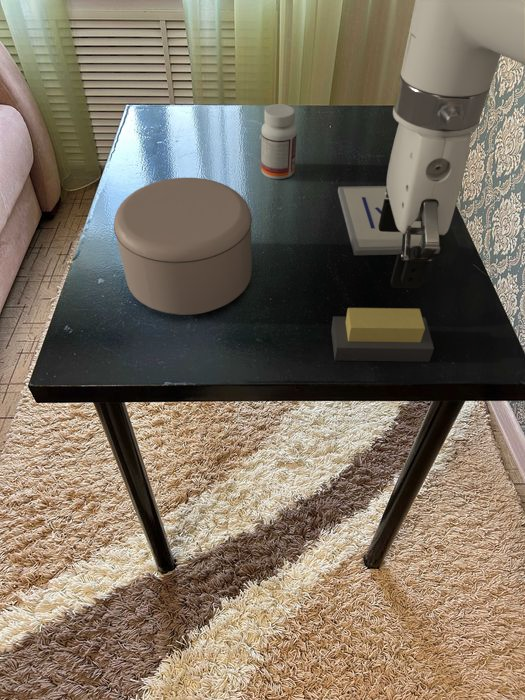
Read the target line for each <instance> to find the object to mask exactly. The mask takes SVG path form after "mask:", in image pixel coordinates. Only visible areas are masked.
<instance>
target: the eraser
mask: <svg viewBox="0 0 525 700" xmlns="http://www.w3.org/2000/svg"><path fill="white" fill-rule="evenodd" d="M330 332H331V341H332V351H333V359H334V362H336V361H337V362H410V363H411V362H412V363H413V362H415V363H428V362H430V361H431V358H432V356H433V352H434V350H435V347H434V342H433V339H432V337H431V336H432V335H431V332H430V329H429V326H428V322H427V319H426V317H423V316H422V312H421V308H401V307H400V308H396V307H395V308H392V307H390V308H389V307H387V308H386V307H381V308H380V307H348V308H347V310H346V316H332V322H331V330H330Z"/></svg>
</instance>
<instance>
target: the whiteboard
mask: <svg viewBox="0 0 525 700" xmlns="http://www.w3.org/2000/svg"><path fill="white" fill-rule="evenodd" d="M386 189H387V185H367V186H365V185H364V186H361V185H360V186H359V185H358V186H338V188H337V194H338V198H339V201H340V202H339V203H340V206H341V210H342V214H343V219H344V221H345V225H346V229H347V234H348V237H349V241H350V245H351V248H352V249H351V250H352V254H353V256H391V255H394V256H397V255H398V254H402V237H403V233H401V232H382V231H379V227H378V226H379V221H380V217H381V212H382V207H383V203H384V199H389V198H386ZM410 227H415V228H421V221H415V222H414V223H413V224H412V225H411V226H410ZM420 241H421V235H411V244H410V248H412V247H414V246H419V242H420ZM440 252H441V246H440V245H439V247H438V249H437V250H436V251H435V255H437V254H438V255H439V254H440Z"/></svg>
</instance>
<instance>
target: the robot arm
mask: <svg viewBox="0 0 525 700" xmlns="http://www.w3.org/2000/svg"><path fill="white" fill-rule="evenodd" d="M501 56H503V57H505V58H508V59H510V60H512V61H514V62H517V63H518V64H521V65H524V66H525V0H415V1H414V6H413V9H412V15H411V20H410V25H409V30H408V36H407V39H406V46H405V50H404V55H403V60H402V65H401V70H400V75H399V79H398V85H397V89H396V94H395V99H394V104H393V107H392V117H393V119H394V120H395V121H396V122H397V123H398V125H397V128H396V132H395V137H394V140H393V144H392V149H391V153H390V157H389V161H388V162H389V163H388V167H387V174H386V186H387V189H386V198H389V199H384V203H383V207H382V212H381V217H380V221H379V226H378V227H379V231H382V232H401V233H403V237H402V254H398V255H396V258H395V263H394V266H393V271H392V274H391V278H390V287H391V288H394V289H420V288H422V287H423V284H424V280H425V277H426V274H427V271H428V268H429V265H430V263H431V262H432V260H433V259H434V257H435V255H436V254H435V251H436V250H437V249H438V247H439V246H440V236H445V235H446V234H447V233H448V232H449V230H450V227H451V223H452V220H453V216H454V214H455V213H454V212H455V209H456V206H457V203H458V199H459V195H460V192H461V187H462V184H463V180H464V176H465V171H466V167H467V163H468V157H469V151H470V146H471V140H472V139H471V137H472V135H471V133H472V132H474V131H475V130H477V128H478V126H479V123H480V121H481V118H482V115H483V112H484V108H485V105H486V102H487V99H488V96H489V93H490V90H491V86H492V83H493V80H494V78H495V74H496V70H497V68H498V65H499V62H500V58H501ZM415 221H421V228H415V227H410V226H411V225H412V224H413V223H414V222H415ZM411 235H421V241H420V242H419V246H414V247H412V248H410V244H411Z"/></svg>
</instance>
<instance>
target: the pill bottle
mask: <svg viewBox="0 0 525 700" xmlns="http://www.w3.org/2000/svg"><path fill="white" fill-rule="evenodd" d="M295 116H296V110H295V108H294V107H293V106H291V105H289V104H284V103H274V104H270V105H268V106H266V107H265V108H264V119H263V120H264V123H263V124H262V125H261V131H260V133H261V134H260V138H261V139H260V141H261V142H260V145H261V146H260V148H261V149H260V159H261V160H260V167H261V168H260V170H261V171H260V172H261V173H262V174H263V175H264V176H265V177H267V178H269V179H271V180H284V179H288V178H290V177H291V176H293V174H294V173H295V168H296V154H297V135H298V128H297V125H296V124H295V120H296V119H295V118H296V117H295Z"/></svg>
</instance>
